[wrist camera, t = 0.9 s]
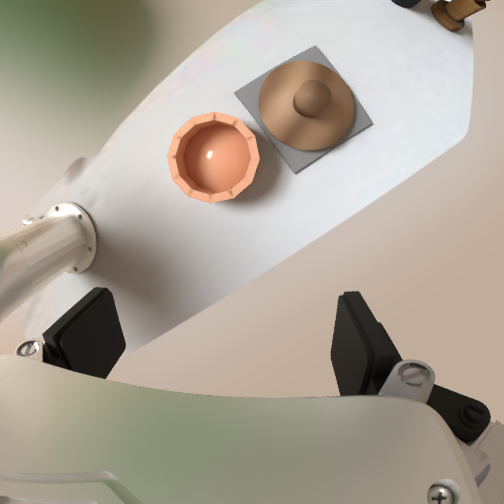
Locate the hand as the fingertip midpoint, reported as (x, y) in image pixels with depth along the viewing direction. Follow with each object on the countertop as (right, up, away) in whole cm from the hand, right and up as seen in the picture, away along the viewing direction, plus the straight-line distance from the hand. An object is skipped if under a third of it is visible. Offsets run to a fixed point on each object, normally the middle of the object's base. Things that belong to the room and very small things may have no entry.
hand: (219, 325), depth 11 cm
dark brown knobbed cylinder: (+37, +46, +16) cm, 61 cm away
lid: (+9, +23, +23) cm, 34 cm away
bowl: (-3, +16, +26) cm, 31 cm away
